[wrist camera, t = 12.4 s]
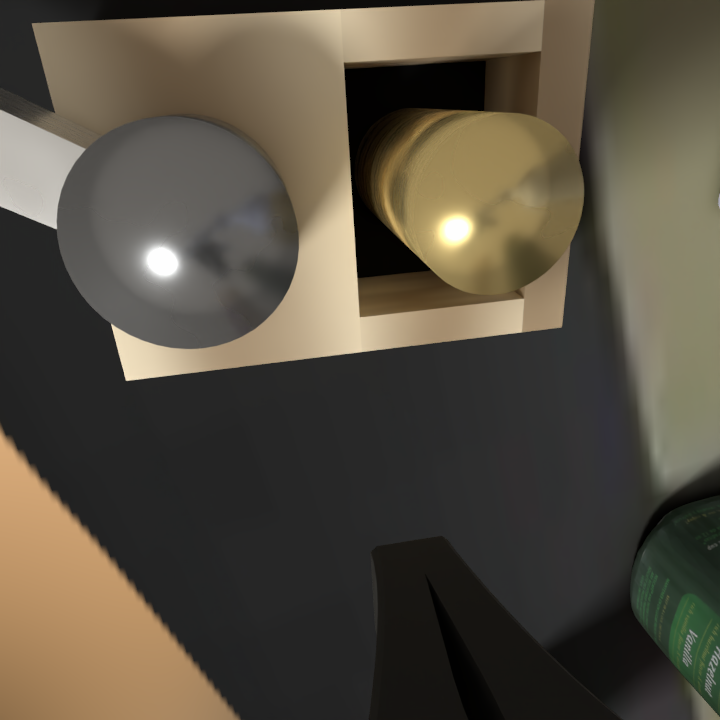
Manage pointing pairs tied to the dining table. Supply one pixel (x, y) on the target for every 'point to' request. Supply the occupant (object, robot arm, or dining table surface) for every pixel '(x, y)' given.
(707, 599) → the coffee jar
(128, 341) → the birch block
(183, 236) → the copper tipped joystick
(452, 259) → the brass pin
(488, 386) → the dining table surface
